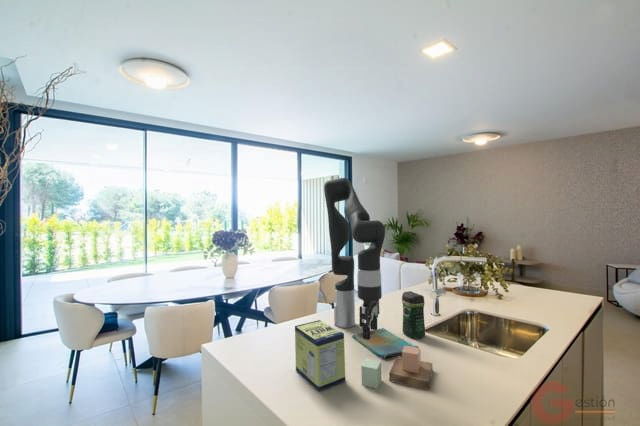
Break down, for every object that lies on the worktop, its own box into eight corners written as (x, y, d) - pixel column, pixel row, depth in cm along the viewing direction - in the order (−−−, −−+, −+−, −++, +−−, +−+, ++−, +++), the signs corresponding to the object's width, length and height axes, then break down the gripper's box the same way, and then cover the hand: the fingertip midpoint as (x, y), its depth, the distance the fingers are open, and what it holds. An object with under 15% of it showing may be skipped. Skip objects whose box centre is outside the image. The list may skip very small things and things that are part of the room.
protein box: (320, 361, 108) (319, 319, 108) (346, 381, 95) (345, 333, 95) (294, 370, 103) (293, 325, 103) (318, 392, 90) (317, 341, 90)
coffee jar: (428, 337, 127) (427, 294, 127) (413, 340, 124) (412, 296, 124) (414, 329, 136) (413, 289, 136) (399, 332, 133) (398, 291, 134)
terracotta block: (402, 370, 97) (401, 351, 97) (404, 363, 101) (404, 345, 101) (418, 373, 95) (417, 354, 95) (420, 365, 99) (419, 348, 99)
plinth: (389, 380, 95) (389, 373, 95) (396, 363, 106) (396, 356, 106) (429, 389, 90) (428, 381, 90) (432, 370, 101) (432, 363, 101)
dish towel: (383, 362, 108) (383, 355, 108) (351, 338, 129) (350, 332, 129) (420, 352, 115) (420, 346, 115) (383, 331, 136) (383, 325, 136)
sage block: (361, 384, 93) (361, 365, 93) (366, 376, 98) (365, 358, 98) (377, 388, 91) (377, 369, 91) (381, 380, 96) (380, 361, 96)
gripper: (375, 289, 87) (376, 345, 86) (386, 279, 99) (387, 328, 99) (350, 287, 90) (351, 340, 90) (364, 277, 103) (365, 324, 102)
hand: (370, 334), depth 94 cm, fingers open, 8 cm apart
